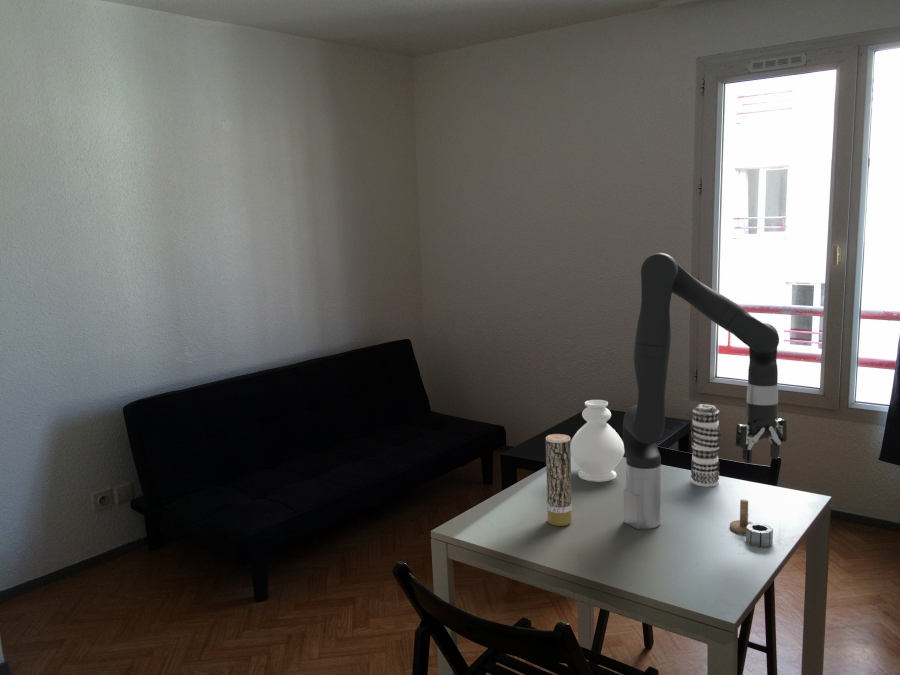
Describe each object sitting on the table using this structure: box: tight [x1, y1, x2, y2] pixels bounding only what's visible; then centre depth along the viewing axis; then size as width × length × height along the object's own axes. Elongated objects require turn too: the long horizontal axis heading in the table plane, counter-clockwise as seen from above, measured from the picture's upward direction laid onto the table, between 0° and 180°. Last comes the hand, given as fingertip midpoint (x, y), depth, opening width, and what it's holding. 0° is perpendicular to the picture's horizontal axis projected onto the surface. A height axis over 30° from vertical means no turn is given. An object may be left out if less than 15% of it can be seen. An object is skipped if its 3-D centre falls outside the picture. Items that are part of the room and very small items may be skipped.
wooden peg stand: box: [729, 499, 753, 535], centre depth 197 cm, size 7×7×8 cm
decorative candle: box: [689, 403, 722, 488], centre depth 231 cm, size 9×9×25 cm
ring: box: [745, 522, 774, 549], centre depth 189 cm, size 6×6×4 cm
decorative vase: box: [570, 399, 625, 483], centre depth 242 cm, size 18×18×25 cm
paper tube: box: [545, 433, 573, 527], centre depth 205 cm, size 7×7×25 cm
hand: (760, 460), depth 192 cm, fingers open, 8 cm apart
